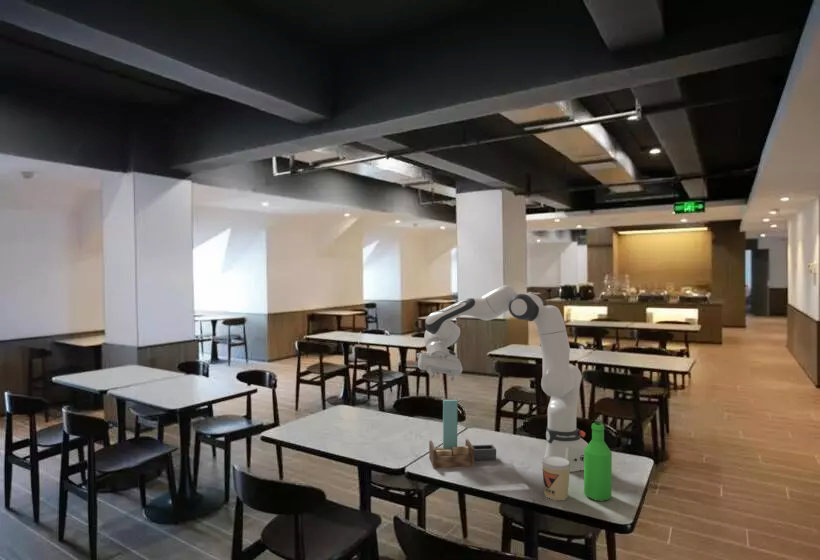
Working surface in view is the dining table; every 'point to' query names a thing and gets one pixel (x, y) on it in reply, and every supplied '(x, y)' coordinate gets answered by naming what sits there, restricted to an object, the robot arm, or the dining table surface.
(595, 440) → the bottle
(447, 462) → the walnut rack
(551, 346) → the robot arm
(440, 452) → the oak offcut
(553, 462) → the coffee cup
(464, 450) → the oak offcut
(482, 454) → the charcoal holder
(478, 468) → the dining table surface
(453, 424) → the teal panel
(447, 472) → the dining table surface
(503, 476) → the dining table surface
